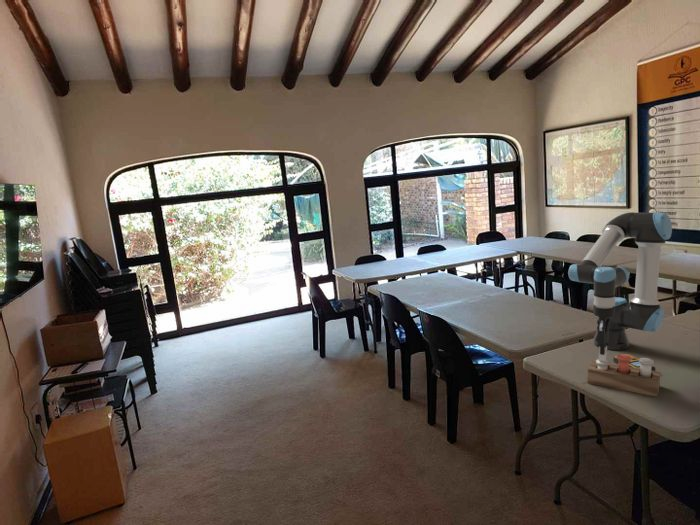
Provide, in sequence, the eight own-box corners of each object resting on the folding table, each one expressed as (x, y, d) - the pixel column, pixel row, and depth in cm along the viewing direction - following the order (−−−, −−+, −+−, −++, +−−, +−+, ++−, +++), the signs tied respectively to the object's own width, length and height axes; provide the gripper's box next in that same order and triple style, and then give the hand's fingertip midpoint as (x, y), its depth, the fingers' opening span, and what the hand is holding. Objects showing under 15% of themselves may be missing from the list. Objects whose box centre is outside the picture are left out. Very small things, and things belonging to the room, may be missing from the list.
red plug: (617, 370, 188) (618, 353, 187) (631, 373, 185) (631, 355, 184) (615, 375, 185) (616, 357, 183) (629, 377, 182) (630, 359, 180)
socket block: (592, 373, 197) (592, 360, 196) (659, 386, 182) (660, 371, 181) (587, 383, 189) (587, 369, 188) (657, 396, 175) (658, 382, 173)
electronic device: (628, 359, 209) (628, 352, 208) (656, 373, 194) (656, 366, 193) (611, 362, 208) (611, 355, 207) (638, 376, 192) (638, 368, 192)
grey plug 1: (596, 374, 194) (597, 358, 192) (609, 377, 191) (610, 360, 189) (594, 379, 190) (595, 362, 188) (607, 381, 187) (608, 364, 185)
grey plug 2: (639, 374, 184) (639, 356, 182) (653, 376, 181) (654, 359, 179) (637, 379, 180) (638, 361, 179) (652, 381, 177) (652, 363, 176)
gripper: (596, 300, 192) (595, 353, 196) (590, 309, 182) (589, 364, 186) (617, 302, 187) (615, 356, 191) (611, 311, 177) (610, 368, 181)
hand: (602, 360), depth 189 cm, fingers closed
